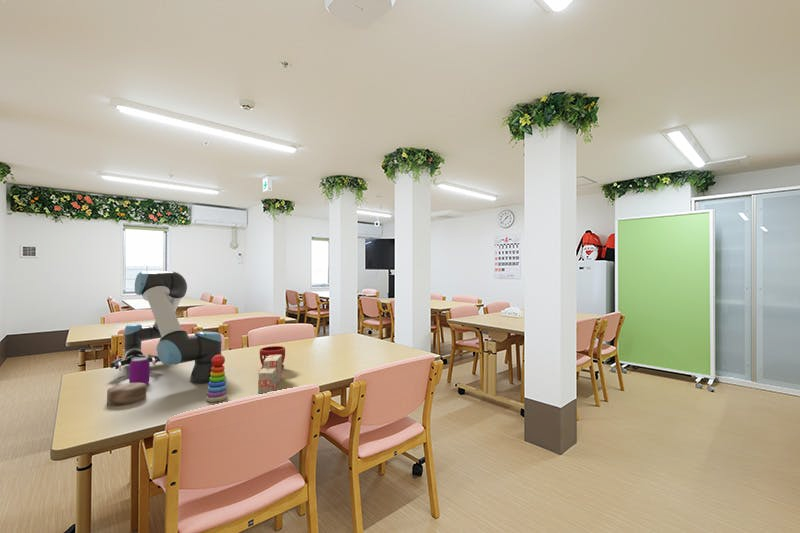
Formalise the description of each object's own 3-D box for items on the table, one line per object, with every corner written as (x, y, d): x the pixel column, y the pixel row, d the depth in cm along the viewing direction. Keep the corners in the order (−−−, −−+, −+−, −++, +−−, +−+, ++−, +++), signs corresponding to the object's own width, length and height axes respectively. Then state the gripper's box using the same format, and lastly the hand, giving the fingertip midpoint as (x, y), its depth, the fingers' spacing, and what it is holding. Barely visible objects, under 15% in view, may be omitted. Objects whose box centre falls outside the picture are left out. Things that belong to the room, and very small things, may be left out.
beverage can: (134, 382, 170) (134, 357, 170) (152, 381, 172) (152, 356, 172) (125, 387, 163) (126, 361, 163) (144, 386, 164) (144, 360, 164)
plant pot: (289, 367, 199) (289, 345, 199) (277, 374, 186) (277, 351, 186) (267, 365, 201) (268, 344, 201) (254, 372, 188) (254, 350, 188)
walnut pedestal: (153, 394, 155) (153, 383, 155) (128, 406, 142) (128, 393, 142) (125, 393, 156) (125, 381, 156) (98, 404, 143) (98, 392, 143)
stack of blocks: (272, 393, 159) (272, 366, 159) (257, 394, 158) (258, 366, 158) (281, 378, 180) (282, 354, 180) (268, 378, 179) (269, 354, 179)
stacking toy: (218, 403, 146) (219, 357, 146) (201, 401, 148) (202, 356, 148) (231, 396, 154) (231, 353, 154) (215, 395, 155) (215, 352, 155)
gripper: (162, 359, 198) (167, 368, 182) (103, 367, 182) (104, 378, 166) (162, 346, 198) (168, 353, 182) (103, 352, 182) (104, 361, 166)
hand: (137, 365), depth 174 cm, fingers open, 13 cm apart
